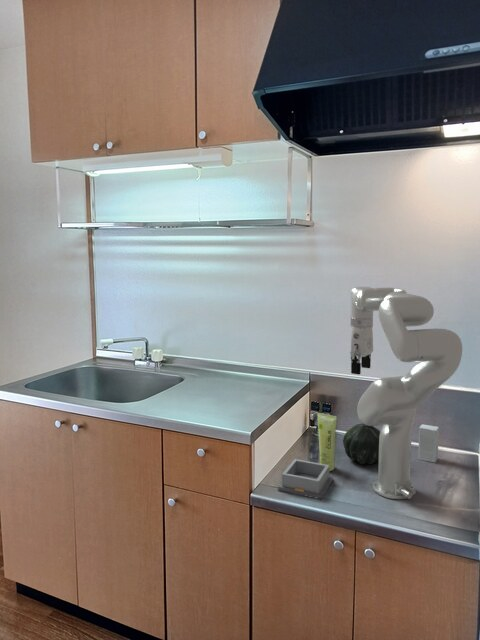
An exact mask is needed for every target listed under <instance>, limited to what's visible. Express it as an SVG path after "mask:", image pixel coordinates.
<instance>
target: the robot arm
mask: <svg viewBox="0 0 480 640" xmlns="http://www.w3.org/2000/svg"><path fill="white" fill-rule="evenodd" d="M434 310H435V309H434V306H433V304H432V303H431V301H430V300H428V298H425V297H424V296H420V295H416V294H411V293H407V291H406V290H405V289H401V288H397V287H370V286H355V287H353V288H351V291H350V327H351V337H350V338H351V339H350V353H349V354H350V364H351V365H350V373H351V374H354V375H361V374H362V371H361V370H362V369H363V368H364V369H371V363H372V361H371V356H372V353H373V352H374V334H373V327H374V312H377V311H378V318H379V322H380V324H381V327H382V330H383V332H384V335H385V337H386V339H387V341H388V344H389V347H390V349H391V351H392V353H393V355H394V356H395V358H396V359H398V360H399V361H400V362H403V363H416V364H415V365H413V366H412V367H411V368H410V369H409V370H408V372H407V373H405V374H404V375H399V376H398V375H397V376H390V377H389V376H388V377H387V376H386V377H380V378H377V379H375V380H374V381H373V382H372V383H371V384H369V386H368V388H367V389H366V390H365V391H364V393H363V394H362V395H361V396H360V398H359V400H358V403H357V408H356V410H357V411H356V413H357V417H358V419H359V421H360V422H361V424H362V423H363V424H365V425H367V426H373V427H377V426H379V427H380V426H381V428H380V436H379V461H378V465H377V466H378V467H377V468H378V469H377V470H378V471H377V472H378V473H377V477H378V478H376V479H375V480H374V481H373V482H372V489H373V490H374V492H375V493H376V494H378V495H379V496H382V497H384V498H388V499H392V500H406V499H409V500H410V499H411V498H412V497H413V496H414V495H415V494H416V493H417V491H416V489H415V486H414V485H413V484H412V483H413V482H412V481H411V460H412V436H413V428H414V422H415V419H416V414H417V408H418V407H419V406H422V404H424V403H425V402H426V401H427V400H428V399H429V398H430V397H431V395H433V394H434V393H435V392H436V390H438V389H439V387H441V386H442V385H443V384H445V383H446V382H447V381H448V380H449V379H450V378H451V377H453V375H454V374H455V373H456V371H457V370H458V368H459V366H460V364H461V361H462V357H463V343H462V339H461V337H460V336H459V335H458V334H457V333H456V332H454V331H452V330H450V329H445V328H423V329H408V328H409V327H420V326H423V325H426V324H427V323H429V322H430V321H431V320H432V319H433V316H434V314H435V311H434ZM407 327H408V328H407ZM417 362H418V363H417ZM361 368H362V369H361Z"/></svg>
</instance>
